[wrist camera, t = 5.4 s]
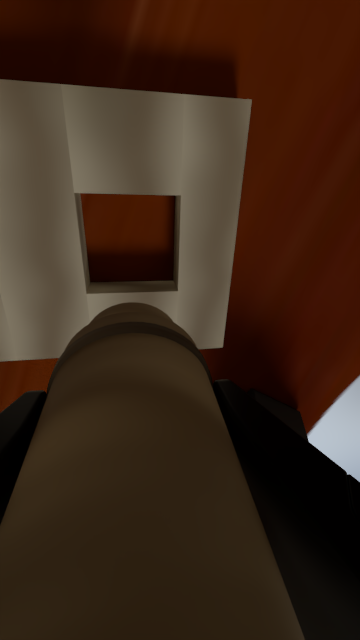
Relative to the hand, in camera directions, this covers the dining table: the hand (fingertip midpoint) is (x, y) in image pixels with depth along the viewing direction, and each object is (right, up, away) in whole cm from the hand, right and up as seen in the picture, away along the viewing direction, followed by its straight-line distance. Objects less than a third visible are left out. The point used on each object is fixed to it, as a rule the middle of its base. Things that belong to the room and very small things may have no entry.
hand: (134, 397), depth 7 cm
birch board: (-7, +7, +10) cm, 13 cm away
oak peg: (0, +1, +2) cm, 2 cm away
